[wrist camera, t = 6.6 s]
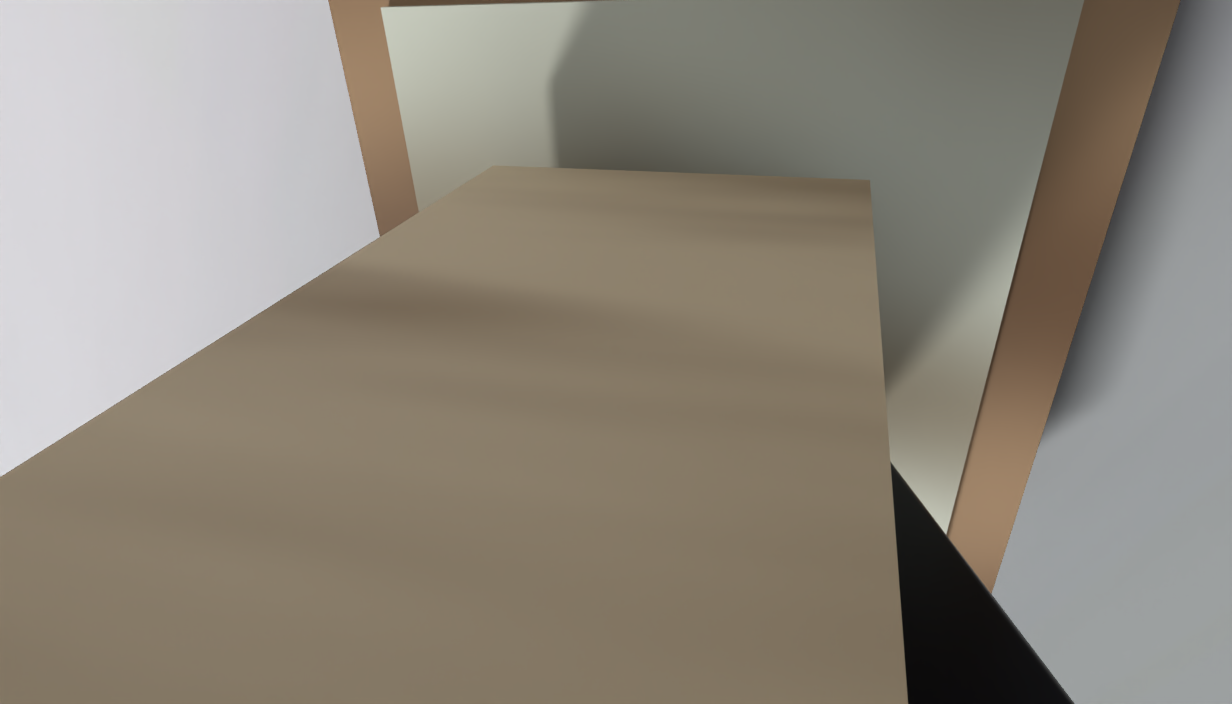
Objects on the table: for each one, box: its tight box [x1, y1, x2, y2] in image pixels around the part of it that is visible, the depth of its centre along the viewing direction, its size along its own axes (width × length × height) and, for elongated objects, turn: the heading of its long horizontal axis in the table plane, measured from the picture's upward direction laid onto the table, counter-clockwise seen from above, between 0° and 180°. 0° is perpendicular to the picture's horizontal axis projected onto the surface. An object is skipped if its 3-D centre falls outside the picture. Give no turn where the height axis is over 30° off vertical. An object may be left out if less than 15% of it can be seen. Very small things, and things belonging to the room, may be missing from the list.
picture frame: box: [328, 0, 1181, 593], centre depth 13 cm, size 11×11×3 cm
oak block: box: [0, 165, 908, 704], centre depth 7 cm, size 5×5×8 cm
